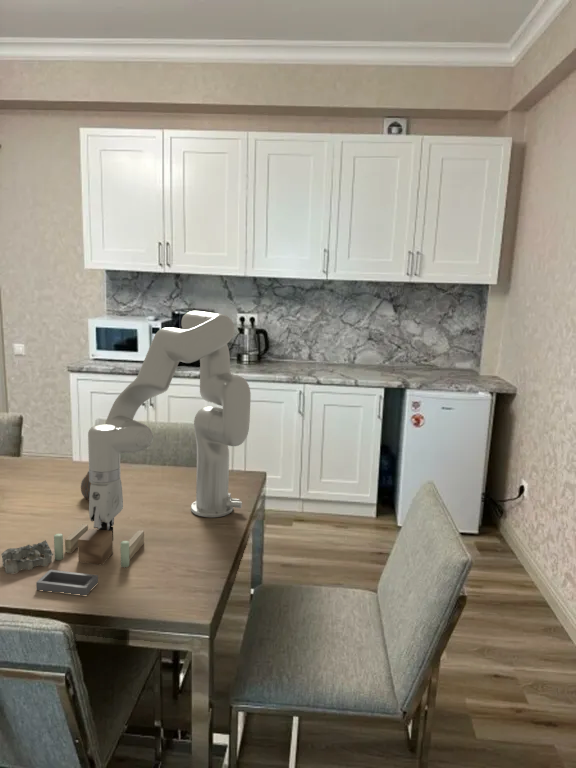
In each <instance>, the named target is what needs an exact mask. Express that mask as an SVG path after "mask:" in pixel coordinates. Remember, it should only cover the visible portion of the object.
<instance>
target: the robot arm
mask: <svg viewBox="0 0 576 768" xmlns="http://www.w3.org/2000/svg"><path fill="white" fill-rule="evenodd" d="M180 323H181V324H180V325H181V328H178V327H170V326H169V327H163V328H160V329H159V330H157V332H156V333H155V334H154V336H153V339H152V341H151V343H150V346H149V348H148V351H147V353H146V355H145V358H144V360H143V362H142V365H141V367H140V369H139V372H138V374H137V376H136V378H135V379H134V380H133V381H132V382H130V384H129V385H127V387H126V388H124V390H123V391H122V392H121V393H120V394H119V395H118V396H117V397H116V399H115V400H114V402H113V404H112V406H111V408H110V410H109V413H108V416H107V417H106V421H105V424H104V423H103V424H96V425H93V426H92V427H91V428H89V430H88V432H87V433H88V434H87V445H88V446H87V447H88V448H87V450H88V471H89V482H90V483H91V485H90V496H89V500H88V503H89V504H88V512H89V513H88V514H89V520H90V521H91V522H93V529H99V530H108V531H112V536H113V537H114V525H115V518H116V517H117V516H118V515H119V514H120V513H121V511H123V508H124V498H123V495H124V494H123V486H122V479H121V454H126V453H128V454H129V453H139V452H142V451H145V450H146V449H148V448H149V447H150V446H151V444H152V442H153V440H154V434H153V431H152V430H151V428H150V427H149V426H148V425H147V424H144V423H142V422H139V421H137V420H135V419H134V418H135V416H136V414H137V412H138V410H139V409H140V407H142V405H143V404H144V403H145V402H147V401H148V400H149V399H151V398H154V397H156V396H160V395H161V394H164V393H166V392H167V391H168V390H169V387H170V385H171V383H172V380H173V378H174V376H175V372H176V370H177V368H178V365H179V363H180V362H182V363H185V364H191V363H194V362H197V361H199V363H200V364H199V365H200V366H199V395H200V397H201V399H203V400H204V401H206V402H208V403H210V404H214V405H218V406H220V407H217V406H213V405H211V406H204V407H202V408H200V409H199V410H198V411H197V412H196V414H195V417H194V419H193V429H194V436H195V442H196V487H195V488H196V489H195V490H196V491H195V493H196V494H195V496H196V497H195V498H196V499H195V501H193V502H192V503H191V505H190V511H191V512H192V513H193V514H194V515H196V516H199V517H203V518H220V517H224V516H228V515H229V514H230V513H232V512H233V510H234V508H236V509H237V508H238V509H242V507H243V501H241V499H240V498H233V497H231V494H232V493H231V492H229V481H230V480H229V477H230V476H229V475H230V474H229V473H230V471H229V470H230V450H229V447H238V446H241V445H242V444H244V443H245V441H246V440H247V438H248V436H249V432H250V422H251V421H250V419H251V418H250V417H251V398H252V397H251V396H252V393H251V387H250V386H249V385H250V384H249V383H248V381H247V380H246V378H244V377H242V376H240V375H239V374H234V373H231V357H230V350H229V349H230V348H229V346H228V343H229V342H230V341H231V340H232V338H233V337H234V334H235V325H234V323H233V320H232V319H231V318H230V316H227V315H226V314H223V313H217V312H210V311H204V310H192V311H188V312H186V313H185V314H184V315H182V318H181V322H180Z"/></svg>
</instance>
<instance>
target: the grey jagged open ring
mask: <svg viewBox="0 0 576 768" xmlns="http://www.w3.org/2000/svg"><path fill="white" fill-rule="evenodd" d="M52 552H53V551H52V550H51V547H50V545H49V544H48V541H47V540H43V541H41V542H38V543H33V544H32V545H30V544H27V545H24V546H19V547H16V548H11V547H10V548H7V549H5V550H4V551H3V552H2V553H1V554H0V556H1V559H2V561H1V562H2V567H3V568H5V574H12V575H15V574H18V572H20V571H22V570H27V569H28V571H31V570H33V569H34V568H35V567H37V565H39V566H41V565H42V567H48V566H49V564H50V562H51V563H52V560H53V559H52V556H54V554H53V553H52ZM42 554H43V556H44V557H41V555H42ZM24 557H25V558H24ZM48 563H49V564H48ZM34 566H35V567H34ZM33 567H34V568H33ZM21 569H22V570H21ZM30 569H31V570H30ZM19 570H20V571H19ZM14 573H15V574H14Z"/></svg>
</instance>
